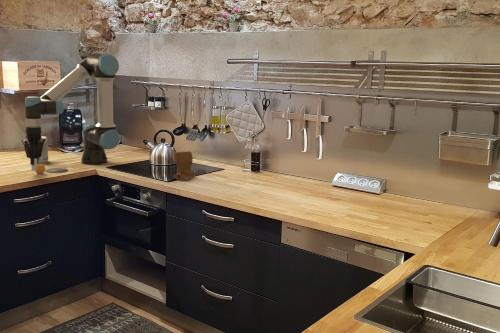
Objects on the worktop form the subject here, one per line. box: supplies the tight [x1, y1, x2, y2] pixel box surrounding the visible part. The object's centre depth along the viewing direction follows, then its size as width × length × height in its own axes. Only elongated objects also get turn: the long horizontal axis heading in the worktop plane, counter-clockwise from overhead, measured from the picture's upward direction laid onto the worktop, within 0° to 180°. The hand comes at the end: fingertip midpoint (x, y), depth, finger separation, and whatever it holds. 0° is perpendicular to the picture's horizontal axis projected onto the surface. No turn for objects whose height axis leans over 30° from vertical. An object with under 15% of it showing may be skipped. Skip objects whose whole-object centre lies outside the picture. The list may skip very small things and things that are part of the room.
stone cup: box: [172, 150, 198, 181], centre depth 284 cm, size 15×12×15 cm
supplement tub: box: [38, 135, 49, 164], centre depth 310 cm, size 10×10×15 cm
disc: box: [44, 167, 69, 174], centre depth 290 cm, size 12×12×1 cm
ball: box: [34, 163, 46, 175], centre depth 280 cm, size 6×6×6 cm
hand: (34, 170), depth 278 cm, fingers closed
